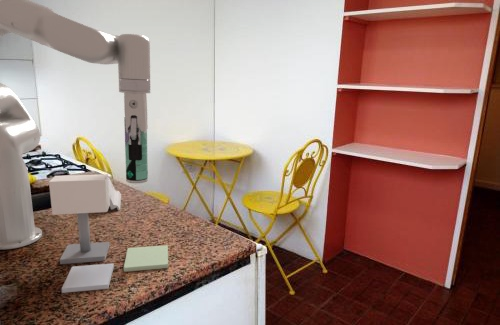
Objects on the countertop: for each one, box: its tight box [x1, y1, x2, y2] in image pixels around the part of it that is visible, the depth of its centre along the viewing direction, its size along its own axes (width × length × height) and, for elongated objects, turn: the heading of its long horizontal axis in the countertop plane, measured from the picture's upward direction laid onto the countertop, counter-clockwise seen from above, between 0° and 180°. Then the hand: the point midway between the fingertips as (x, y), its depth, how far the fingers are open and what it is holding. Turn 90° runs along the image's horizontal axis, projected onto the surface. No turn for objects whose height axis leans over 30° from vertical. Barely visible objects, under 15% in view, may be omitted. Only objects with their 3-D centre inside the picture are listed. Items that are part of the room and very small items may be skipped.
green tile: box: [123, 244, 169, 273], centre depth 90 cm, size 10×10×1 cm
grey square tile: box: [61, 262, 115, 294], centre depth 81 cm, size 9×9×1 cm
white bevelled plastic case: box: [108, 176, 122, 212], centre depth 127 cm, size 17×5×10 cm, turn 18°
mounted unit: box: [48, 173, 110, 265], centre depth 89 cm, size 12×8×20 cm, turn 103°
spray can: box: [123, 116, 149, 184], centre depth 95 cm, size 6×6×20 cm
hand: (136, 156), depth 96 cm, fingers closed on spray can, 5 cm apart
